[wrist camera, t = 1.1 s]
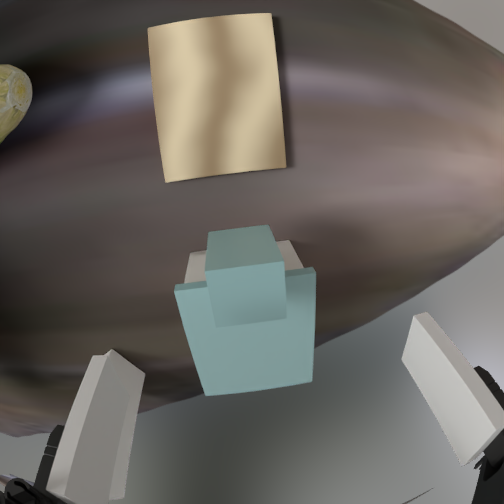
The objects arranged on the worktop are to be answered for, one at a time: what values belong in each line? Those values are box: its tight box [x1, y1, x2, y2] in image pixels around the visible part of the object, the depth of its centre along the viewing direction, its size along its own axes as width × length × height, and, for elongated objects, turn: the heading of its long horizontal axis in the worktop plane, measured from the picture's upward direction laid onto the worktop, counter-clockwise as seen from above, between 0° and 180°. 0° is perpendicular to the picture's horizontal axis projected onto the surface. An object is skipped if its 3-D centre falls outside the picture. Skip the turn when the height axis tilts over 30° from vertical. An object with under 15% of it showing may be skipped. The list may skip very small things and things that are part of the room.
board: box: [148, 13, 286, 183], centre depth 23 cm, size 11×15×1 cm
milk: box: [105, 349, 145, 500], centre depth 26 cm, size 6×6×22 cm
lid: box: [174, 225, 316, 396], centre depth 23 cm, size 11×17×6 cm, turn 5°
